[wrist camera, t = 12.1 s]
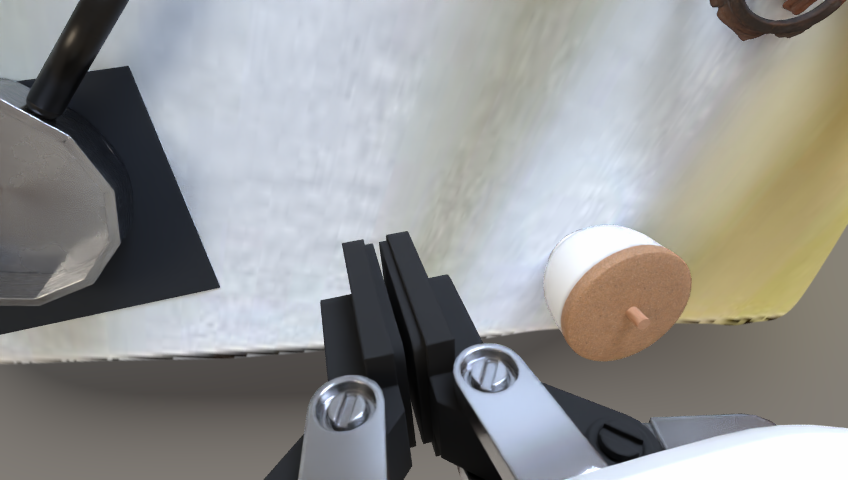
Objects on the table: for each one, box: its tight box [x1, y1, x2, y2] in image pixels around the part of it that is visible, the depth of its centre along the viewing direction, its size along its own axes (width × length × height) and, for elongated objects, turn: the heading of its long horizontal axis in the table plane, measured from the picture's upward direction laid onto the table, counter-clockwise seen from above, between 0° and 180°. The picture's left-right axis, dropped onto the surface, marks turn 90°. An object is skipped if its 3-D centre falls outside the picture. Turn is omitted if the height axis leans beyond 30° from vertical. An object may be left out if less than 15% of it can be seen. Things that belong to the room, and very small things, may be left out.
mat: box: [0, 66, 220, 335], centre depth 29 cm, size 16×18×1 cm
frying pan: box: [0, 0, 134, 306], centre depth 26 cm, size 22×13×3 cm, turn 138°
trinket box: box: [543, 225, 692, 361], centre depth 38 cm, size 11×11×9 cm
